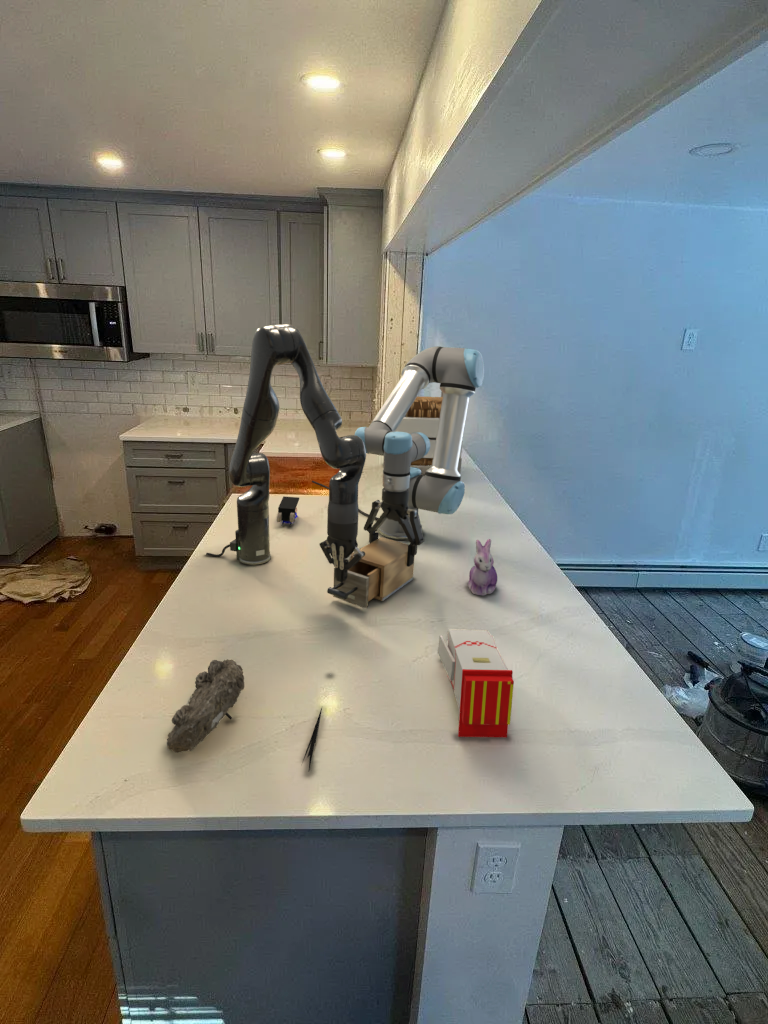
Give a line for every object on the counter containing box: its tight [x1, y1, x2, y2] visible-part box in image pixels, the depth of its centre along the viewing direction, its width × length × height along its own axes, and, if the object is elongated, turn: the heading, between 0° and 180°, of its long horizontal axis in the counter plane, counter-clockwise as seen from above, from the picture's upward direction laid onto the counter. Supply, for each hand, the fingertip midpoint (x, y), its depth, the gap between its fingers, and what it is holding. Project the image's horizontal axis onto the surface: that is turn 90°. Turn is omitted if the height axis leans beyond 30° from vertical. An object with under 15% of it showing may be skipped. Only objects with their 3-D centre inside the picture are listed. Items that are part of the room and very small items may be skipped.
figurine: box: [467, 538, 498, 596], centre depth 160 cm, size 9×10×15 cm
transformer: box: [383, 391, 464, 475], centre depth 268 cm, size 34×33×41 cm
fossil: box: [166, 658, 245, 754], centre depth 106 cm, size 22×10×15 cm
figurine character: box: [276, 495, 300, 527], centre depth 205 cm, size 7×8×15 cm
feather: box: [301, 673, 332, 771], centre depth 108 cm, size 2×28×2 cm
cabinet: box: [349, 536, 416, 602], centre depth 161 cm, size 17×12×10 cm
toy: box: [437, 628, 515, 738], centre depth 117 cm, size 12×13×30 cm
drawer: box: [326, 561, 381, 609], centre depth 152 cm, size 22×10×8 cm, turn 148°
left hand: (341, 580), depth 144 cm, fingers closed
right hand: (391, 559), depth 165 cm, fingers closed on cabinet, 12 cm apart
